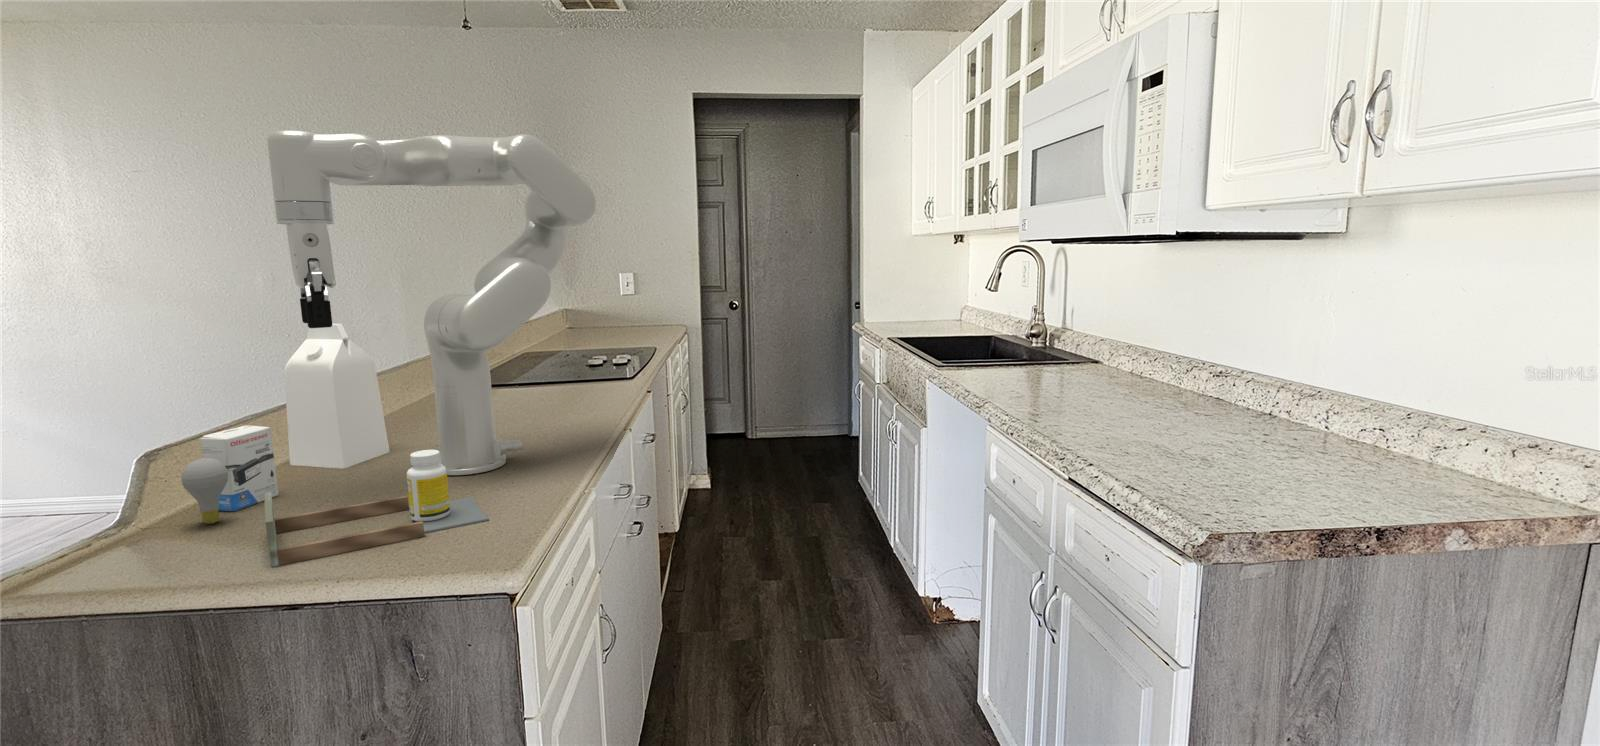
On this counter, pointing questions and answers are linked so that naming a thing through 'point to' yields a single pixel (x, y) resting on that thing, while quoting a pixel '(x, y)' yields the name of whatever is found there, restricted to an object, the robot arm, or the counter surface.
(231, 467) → the ink box
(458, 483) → the counter surface
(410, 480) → the supplement bottle
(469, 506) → the mat
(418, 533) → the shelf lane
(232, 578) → the counter surface
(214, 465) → the light bulb
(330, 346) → the milk
